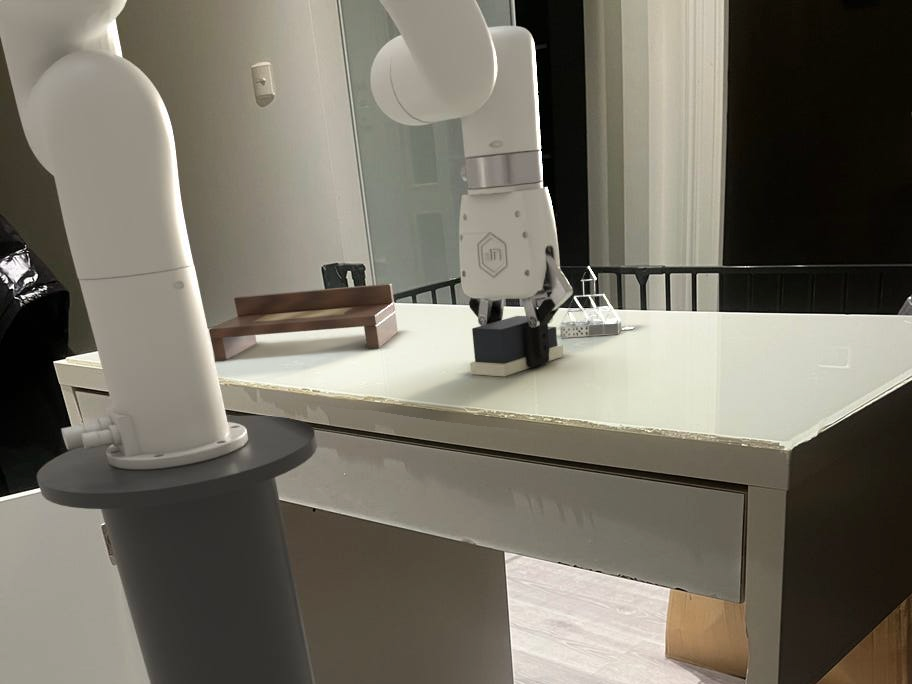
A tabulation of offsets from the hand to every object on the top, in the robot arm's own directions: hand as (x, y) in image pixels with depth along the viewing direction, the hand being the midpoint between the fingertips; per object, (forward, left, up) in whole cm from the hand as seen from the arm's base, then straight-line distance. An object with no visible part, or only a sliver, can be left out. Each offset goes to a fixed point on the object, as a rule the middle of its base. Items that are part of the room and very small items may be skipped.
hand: (518, 361), depth 102 cm
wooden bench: (-10, +37, 0) cm, 38 cm away
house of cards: (+18, +10, -1) cm, 21 cm away
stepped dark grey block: (0, 0, 0) cm, 0 cm away
